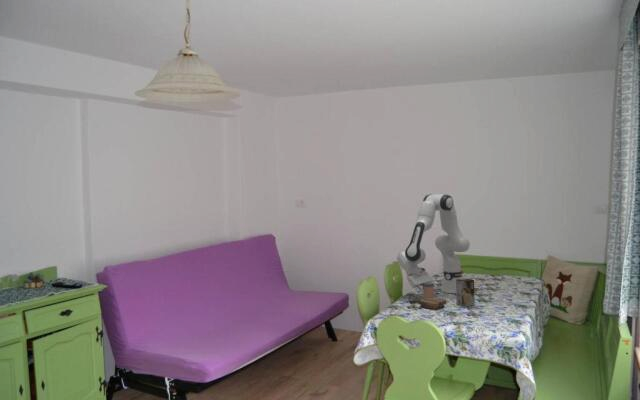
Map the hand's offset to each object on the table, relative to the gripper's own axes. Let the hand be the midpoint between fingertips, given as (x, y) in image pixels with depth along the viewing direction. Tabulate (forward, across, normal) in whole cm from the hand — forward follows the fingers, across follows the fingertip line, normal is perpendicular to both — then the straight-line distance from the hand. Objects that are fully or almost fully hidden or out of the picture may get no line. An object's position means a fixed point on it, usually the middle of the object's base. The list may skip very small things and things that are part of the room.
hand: (427, 290), depth 321 cm
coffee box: (+21, +7, -10) cm, 25 cm away
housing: (+6, 0, +5) cm, 8 cm away
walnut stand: (+12, -10, -1) cm, 16 cm away
